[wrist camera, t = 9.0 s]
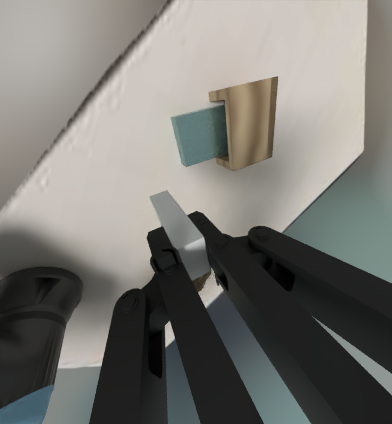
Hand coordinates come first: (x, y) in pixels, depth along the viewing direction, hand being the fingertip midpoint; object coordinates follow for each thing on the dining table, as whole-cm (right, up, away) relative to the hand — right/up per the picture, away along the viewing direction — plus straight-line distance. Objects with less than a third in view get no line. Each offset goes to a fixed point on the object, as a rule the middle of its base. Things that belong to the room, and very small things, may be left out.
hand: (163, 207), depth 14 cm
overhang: (+11, +19, +23) cm, 32 cm away
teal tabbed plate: (+5, +16, +21) cm, 28 cm away
